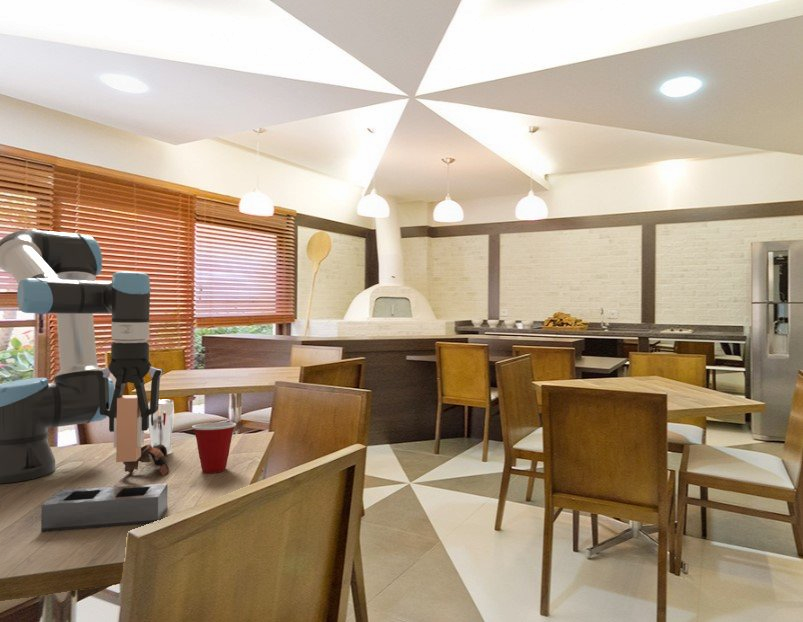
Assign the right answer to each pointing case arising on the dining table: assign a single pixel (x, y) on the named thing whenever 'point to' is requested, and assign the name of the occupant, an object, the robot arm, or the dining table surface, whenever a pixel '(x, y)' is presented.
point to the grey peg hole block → (104, 507)
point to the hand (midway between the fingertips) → (129, 445)
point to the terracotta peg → (127, 429)
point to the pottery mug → (156, 453)
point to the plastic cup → (214, 445)
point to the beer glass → (162, 425)
